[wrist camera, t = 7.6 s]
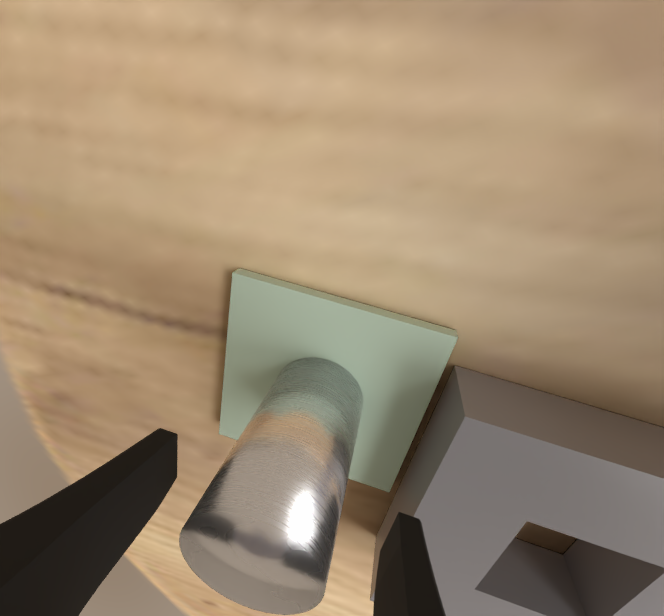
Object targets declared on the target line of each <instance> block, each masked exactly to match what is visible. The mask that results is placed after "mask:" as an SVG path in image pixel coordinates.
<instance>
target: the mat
mask: <svg viewBox="0 0 664 616" xmlns="http://www.w3.org/2000/svg"><path fill="white" fill-rule="evenodd" d="M457 339H458V335H457V332H456V330H453V329H450V328H446V327H443V326H439V325H436V324H432V323H429V322H425V321H422V320H418V319H415V318H411V317H408V316H404V315H401V314H397V313H394V312H390V311H387V310H384V309H380V308H377V307H373V306H370V305H366V304H363V303H359V302H356V301H352V300H349V299H345V298H342V297H338V296H335V295H331V294H328V293H324V292H321V291H317V290H314V289H310V288H307V287H303V286H300V285H296V284H293V283H290V282H286V281H283V280H279V279H276V278H272V277H269V276H265V275H262V274H258V273H255V272H251V271H248V270H244V269H241V268H239V269H237V270H236V271H234V272H232V284H231V296H230V308H229V319H228V331H227V343H226V355H225V367H224V379H223V391H222V403H221V415H220V427H219V434H221V435H224V436H227V437H230V438H232V439H235V440H238V439H239V437H240V436H241V434H242V432H243V431H244V429H245V428H246V426H247V424H248V423H249V421H250V420H251V418H252V416H253V415H254V413H255V412H256V410H257V408H258V407H259V405H260V404H261V402H262V400H263V399H264V397H265V396H266V394H267V392H268V391H269V389H270V388H271V386H272V384H273V383H274V381H275V380H276V378H277V376H278V375H279V373H280V372H281V370H282V369H283V368H284V367H285V366H286V365H288V364H289V363H291V362H292V361H295V360H297V359H301V358H307V357H316V358H323V359H327V360H330V361H332V362H335V363H337V364H339V365H340V366H342V367H343V368H345V369H346V370H347V371H348V372H350V373H351V374H352V376H353V377H354V378H355V379H356V381H357V382H358V384H359V386H360V388H361V390H362V394H363V409H362V414H361V418H360V423H359V428H358V433H357V438H356V443H355V447H354V452H353V457H352V462H351V467H350V472H349V477H348V479H351V480H354V481H357V482H360V483H363V484H366V485H369V486H372V487H375V488H377V489H380V490H383V491H386V492H390V490H391V488H392V485H393V483H394V481H395V479H396V476H397V474H398V472H399V470H400V467H401V465H402V463H403V461H404V458H405V456H406V454H407V452H408V449H409V447H410V445H411V443H412V440H413V438H414V436H415V434H416V431H417V429H418V427H419V425H420V422H421V420H422V418H423V416H424V413H425V411H426V409H427V407H428V404H429V402H430V400H431V398H432V395H433V393H434V391H435V389H436V386H437V384H438V382H439V380H440V377H441V375H442V373H443V371H444V368H445V366H446V364H447V362H448V359H449V357H450V355H451V353H452V350H453V348H454V346H455V344H456V341H457Z"/></svg>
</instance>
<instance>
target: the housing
mask: <svg viewBox="0 0 664 616" xmlns="http://www.w3.org/2000/svg"><path fill="white" fill-rule="evenodd" d="M398 512H401V513H404V514H407V515H410V516H413V517H416V518H418V519H420V521H421V523H422V527H423V532H424V537H425V541H426V545H427V550H428V554H429V558H430V562H431V565H432V569H433V573H434V577H435V580H436V584H437V587H438V591H439V595H440V598H441V601H442V604H443V608H444V611H445V614H446V616H664V428H663V427H660V426H656V425H653V424H650V423H646V422H643V421H639V420H636V419H633V418H629V417H626V416H623V415H619V414H616V413H613V412H609V411H606V410H603V409H599V408H596V407H593V406H589V405H586V404H582V403H579V402H576V401H572V400H569V399H566V398H562V397H559V396H556V395H552V394H549V393H546V392H542V391H539V390H536V389H532V388H529V387H525V386H522V385H519V384H515V383H512V382H509V381H505V380H502V379H499V378H495V377H492V376H489V375H485V374H482V373H479V372H475V371H472V370H468V369H465V368H462V367H458V366H454V368H453V370H452V373H451V375H450V377H449V379H448V381H447V384H446V386H445V388H444V390H443V392H442V394H441V397H440V399H439V401H438V403H437V405H436V407H435V410H434V412H433V414H432V416H431V418H430V421H429V423H428V425H427V427H426V429H425V431H424V434H423V436H422V438H421V440H420V442H419V445H418V447H417V449H416V451H415V453H414V455H413V458H412V460H411V462H410V464H409V466H408V468H407V471H406V473H405V475H404V477H403V479H402V482H401V484H400V486H399V488H398V490H397V492H396V495H395V497H394V499H393V501H392V503H391V506H390V508H389V510H388V512H387V514H386V516H385V519H384V521H383V523H382V525H381V527H380V529H379V532H378V534H377V536H376V542H375V553H374V563H373V573H372V584H371V594H370V600H371V601H374V593H375V584H376V576H377V569H378V562H379V555H380V550H381V548H382V546H383V543H384V541H385V539H386V537H387V535H388V533H389V531H390V529H391V527H392V525H393V523H394V521H395V519H396V517H397V514H398ZM526 522H530V523H533V524H536V525H539V526H542V527H545V528H548V529H551V530H554V531H557V532H560V533H563V534H566V535H569V536H572V537H575V538H578V539H577V540H576V541H575V542H574V543H573V544H572V546H571V547H570V548H569V549H568V550H567V551H566V552H565V553H564V554H563V555H562V554H559V553H556V552H553V551H550V550H548V549H545V548H542V547H539V546H536V545H533V544H530V543H527V542H524V541H522V540H519V539H516V538H514V537H515V536H516V535H517V534H518V532H519V531H520V530H521V528H522V527H523V526H524V525H525V523H526Z"/></svg>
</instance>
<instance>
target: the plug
mask: <svg viewBox="0 0 664 616" xmlns="http://www.w3.org/2000/svg"><path fill="white" fill-rule="evenodd" d="M362 409H363V394H362V390H361V388H360V386H359V384H358V382H357V381H356V379H355V378H354V377H353V376H352V374H351V373H350V372H348V371H347V370H346V369H345V368H343V367H342V366H340V365H339V364H337V363H335V362H332V361H330V360H327V359H323V358H316V357H307V358H301V359H297V360H295V361H292V362H291V363H289V364H288V365H286V366H285V367H284V368H283V369H282V370H281V372H280V373H279V375H278V376H277V378H276V380H275V381H274V383H273V384H272V386H271V388H270V389H269V391H268V392H267V394H266V396H265V397H264V399H263V400H262V402H261V404H260V405H259V407H258V408H257V410H256V412H255V413H254V415H253V416H252V418H251V420H250V421H249V423H248V424H247V426H246V428H245V429H244V431H243V432H242V434H241V436H240V437H239V439H238V440H237V442H236V444H235V445H234V447H233V448H232V450H231V452H230V453H229V455H228V456H227V458H226V460H225V461H224V463H223V464H222V466H221V468H220V469H219V471H218V472H217V474H216V476H215V477H214V479H213V480H212V482H211V483H210V485H209V487H208V488H207V490H206V491H205V493H204V495H203V496H202V498H201V499H200V501H199V503H198V504H197V506H196V507H195V509H194V511H193V512H192V514H191V515H190V517H189V519H188V520H187V522H186V523H185V525H184V527H183V528H182V530H181V533H180V538H179V543H180V549H181V552H182V554H183V557H184V559H185V560H186V562H187V564H188V565H189V566H190V568H191V569H192V570H193V572H194V573H195V574H196V575H197V576H198V577H199V578H200V579H201V580H202V581H203V582H205V583H206V584H207V585H208V586H209V587H211V588H212V589H214V590H215V591H216V592H218V593H220V594H221V595H223V596H224V597H226V598H228V599H230V600H232V601H234V602H236V603H238V604H241V605H243V606H246V607H248V608H251V609H254V610H258V611H262V612H266V613H272V614H282V615H290V614H299V613H303V612H306V611H309V610H311V609H313V608H314V607H316V606H317V605H318V604H319V603H320V602H321V600H322V598H323V596H324V593H325V588H326V583H327V579H328V574H329V569H330V564H331V559H332V554H333V549H334V545H335V540H336V535H337V530H338V525H339V520H340V515H341V511H342V506H343V501H344V496H345V491H346V486H347V481H348V477H349V472H350V467H351V462H352V457H353V452H354V447H355V443H356V438H357V433H358V428H359V423H360V418H361V414H362Z"/></svg>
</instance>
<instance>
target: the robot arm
mask: <svg viewBox="0 0 664 616" xmlns="http://www.w3.org/2000/svg"><path fill="white" fill-rule="evenodd" d="M176 478H177V434H175V433H173V432H170V431H167V430H164V429H161V428H160V429H157V430H156V431H154V432H153V433H151V434H150V435H148V436H147V437H145V438H144V439H142V440H141V441H139V442H138V443H136V444H135V445H133V446H132V447H130V448H129V449H127V450H126V451H124V452H123V453H121V454H119V455H118V456H116V457H115V458H113V459H112V460H110V461H109V462H107V463H105V464H104V465H102V466H101V467H99V468H97V469H96V470H94V471H93V472H91V473H89V474H88V475H86V476H85V477H83V478H81V479H80V480H78V481H77V482H75V483H73V484H72V485H70V486H68V487H66V488H65V489H63V490H61V491H59V492H58V493H56V494H54V495H53V496H51V497H50V498H47V499H46V500H44V501H42V502H41V503H39V504H37V505H35V506H33V507H32V508H30V509H28V510H26V511H24V512H22V513H21V514H19V515H17V516H15V517H13V518H11V519H9V520H7V521H6V522H3V523H2V524H0V616H79V614H80V612H81V611H82V609H83V608H84V606H85V605H86V604H87V602H88V601H89V599H90V598H91V597H92V595H93V594H94V592H95V591H96V589H97V588H98V586H99V585H100V584H101V583H102V581H103V580H104V579H105V578H106V576H107V575H108V574H109V572H110V571H111V570H112V568H113V567H114V566H115V564H116V563H117V562H118V560H119V559H120V558H121V557H122V555H123V554H124V553H125V551H126V550H127V549H128V547H129V546H130V545H131V543H132V542H133V541H134V539H135V538H136V537H137V536H138V534H139V533H140V532H141V530H142V529H143V528H144V526H145V525H146V524H147V522H148V521H149V520H150V518H151V517H152V516H153V514H154V513H155V512H156V510H157V509H158V507H159V506H160V504H161V502H162V501H163V499H164V498H165V496H166V494H167V493H168V491H169V489H170V488H171V486H172V484H173V483H174V481H175V479H176ZM373 616H446V614H445V611H444V608H443V604H442V601H441V598H440V595H439V591H438V587H437V584H436V580H435V577H434V573H433V569H432V565H431V562H430V558H429V554H428V550H427V545H426V541H425V537H424V532H423V527H422V523H421V521H420V519H418V518H416V517H413V516H410V515H407V514H404V513H401V512H398V514H397V517H396V519H395V521H394V523H393V525H392V527H391V529H390V531H389V533H388V535H387V537H386V539H385V541H384V543H383V546H382V548H381V550H380V555H379V562H378V569H377V576H376V584H375V593H374V614H373Z"/></svg>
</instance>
